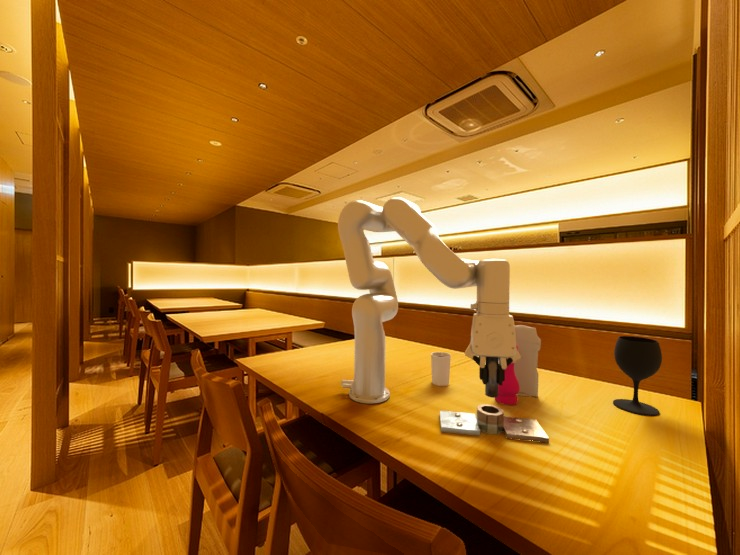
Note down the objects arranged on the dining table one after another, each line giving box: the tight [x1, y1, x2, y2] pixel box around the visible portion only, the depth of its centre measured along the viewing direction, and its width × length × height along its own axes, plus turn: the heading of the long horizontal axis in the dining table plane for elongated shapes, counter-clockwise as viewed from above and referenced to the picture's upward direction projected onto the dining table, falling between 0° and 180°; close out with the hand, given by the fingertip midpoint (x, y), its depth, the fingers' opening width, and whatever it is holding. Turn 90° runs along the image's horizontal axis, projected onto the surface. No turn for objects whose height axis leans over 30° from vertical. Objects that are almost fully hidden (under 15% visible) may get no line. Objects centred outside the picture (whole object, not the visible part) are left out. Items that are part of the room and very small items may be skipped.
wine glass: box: [612, 335, 663, 417], centre depth 90 cm, size 10×10×20 cm
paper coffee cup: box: [430, 351, 452, 387], centre depth 108 cm, size 7×7×10 cm
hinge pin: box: [484, 357, 499, 399], centre depth 77 cm, size 3×3×10 cm
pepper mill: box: [494, 344, 520, 406], centre depth 94 cm, size 7×7×20 cm
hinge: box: [439, 403, 550, 444], centre depth 78 cm, size 24×9×5 cm, turn 79°
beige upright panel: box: [514, 324, 542, 398], centre depth 99 cm, size 11×4×22 cm, turn 62°
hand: (491, 382), depth 77 cm, fingers closed on hinge pin, 3 cm apart
